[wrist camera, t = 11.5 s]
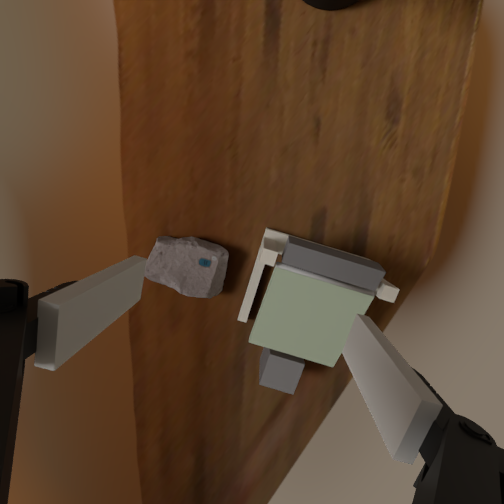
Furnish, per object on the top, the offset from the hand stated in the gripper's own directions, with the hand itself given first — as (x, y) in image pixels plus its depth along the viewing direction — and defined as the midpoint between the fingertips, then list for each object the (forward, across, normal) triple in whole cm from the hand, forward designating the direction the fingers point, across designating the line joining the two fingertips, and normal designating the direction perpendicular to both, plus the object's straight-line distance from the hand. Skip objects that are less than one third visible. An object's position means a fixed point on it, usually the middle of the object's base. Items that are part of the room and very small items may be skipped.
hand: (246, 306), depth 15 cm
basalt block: (+23, +9, -21) cm, 32 cm away
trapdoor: (+22, +10, -7) cm, 25 cm away
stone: (+30, -10, -8) cm, 33 cm away
